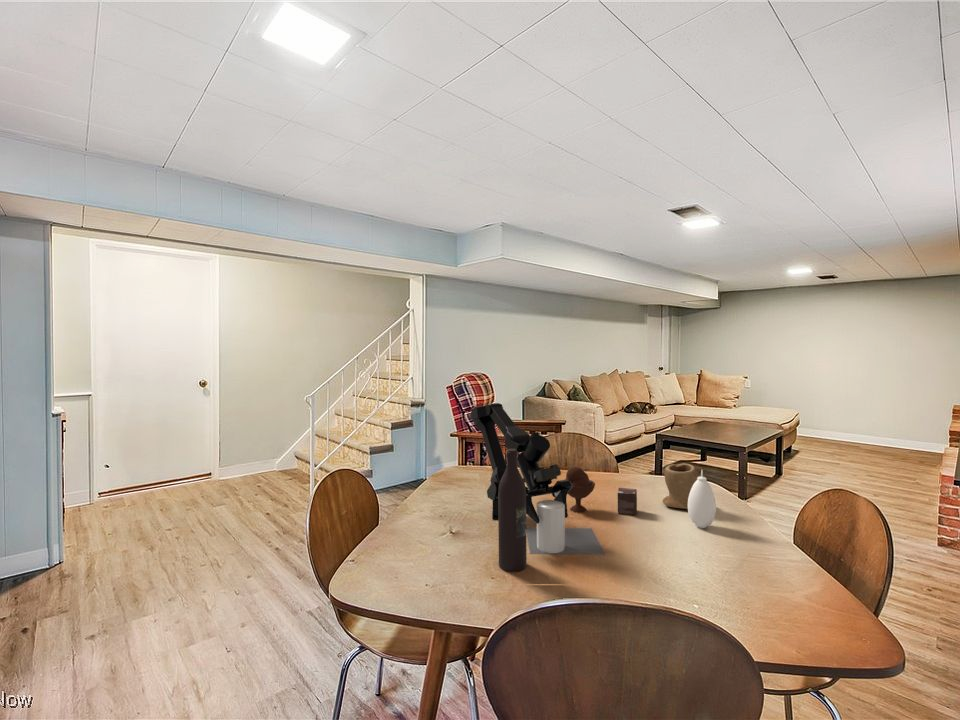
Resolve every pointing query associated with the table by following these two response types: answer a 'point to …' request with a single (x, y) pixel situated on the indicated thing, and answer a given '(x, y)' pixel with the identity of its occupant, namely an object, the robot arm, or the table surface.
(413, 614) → the table surface
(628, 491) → the box
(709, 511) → the white air blower bulb
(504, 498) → the wine bottle
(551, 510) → the cover cup
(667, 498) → the stone cup
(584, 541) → the mat
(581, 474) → the ice cream bowl
